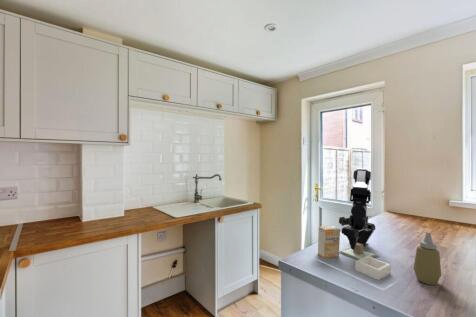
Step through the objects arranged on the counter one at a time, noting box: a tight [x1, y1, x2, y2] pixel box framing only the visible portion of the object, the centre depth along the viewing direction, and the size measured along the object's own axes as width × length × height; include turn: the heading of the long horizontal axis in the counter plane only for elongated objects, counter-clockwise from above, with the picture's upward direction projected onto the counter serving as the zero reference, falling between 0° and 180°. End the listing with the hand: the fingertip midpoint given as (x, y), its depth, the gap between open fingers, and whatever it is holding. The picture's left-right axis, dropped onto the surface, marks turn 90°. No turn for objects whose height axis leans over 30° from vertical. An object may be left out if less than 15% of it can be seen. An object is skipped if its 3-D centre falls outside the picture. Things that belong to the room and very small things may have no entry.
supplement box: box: [317, 225, 341, 259], centre depth 109 cm, size 8×5×13 cm, turn 105°
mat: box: [339, 247, 380, 261], centre depth 110 cm, size 13×13×1 cm
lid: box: [341, 243, 376, 260], centre depth 110 cm, size 10×10×5 cm
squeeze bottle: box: [413, 231, 442, 286], centre depth 88 cm, size 8×8×18 cm
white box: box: [354, 256, 392, 281], centre depth 94 cm, size 9×9×4 cm
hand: (358, 247), depth 110 cm, fingers open, 9 cm apart
